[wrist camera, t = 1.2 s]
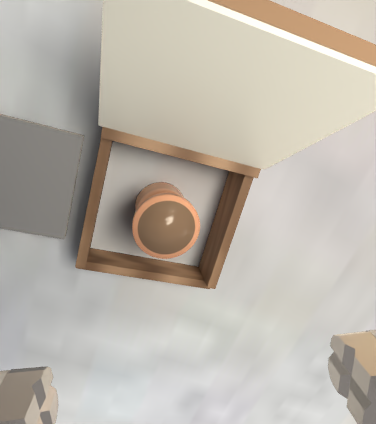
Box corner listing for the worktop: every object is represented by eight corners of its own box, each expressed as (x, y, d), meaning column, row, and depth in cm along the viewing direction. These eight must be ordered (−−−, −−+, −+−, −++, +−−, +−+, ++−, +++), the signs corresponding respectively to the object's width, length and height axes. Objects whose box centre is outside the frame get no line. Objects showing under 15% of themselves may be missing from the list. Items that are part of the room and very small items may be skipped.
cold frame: (80, 253, 39) (72, 279, 33) (106, 121, 35) (102, 126, 29) (203, 274, 43) (214, 300, 37) (241, 158, 39) (260, 168, 33)
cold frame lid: (104, -34, 13) (112, -66, 14) (98, 125, 29) (101, 109, 29) (418, 88, 17) (418, 62, 18) (264, 169, 33) (265, 155, 33)
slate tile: (-50, 215, 35) (-55, 218, 34) (-41, 103, 32) (-46, 103, 31) (65, 235, 38) (64, 239, 37) (84, 135, 35) (83, 136, 34)
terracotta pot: (126, 226, 39) (125, 252, 32) (139, 172, 37) (141, 188, 31) (179, 237, 41) (189, 263, 34) (194, 186, 39) (208, 204, 32)
